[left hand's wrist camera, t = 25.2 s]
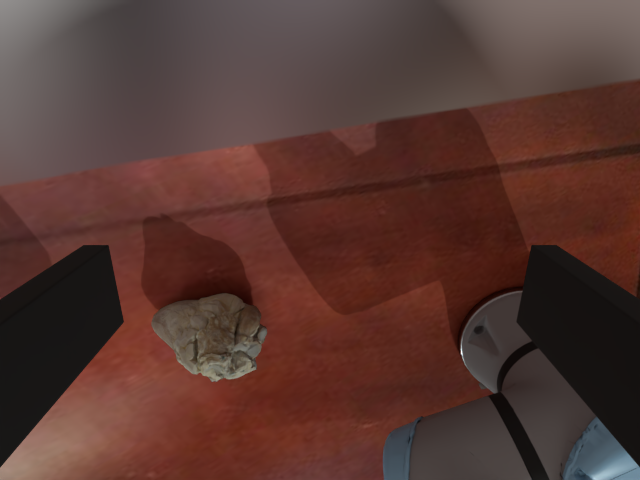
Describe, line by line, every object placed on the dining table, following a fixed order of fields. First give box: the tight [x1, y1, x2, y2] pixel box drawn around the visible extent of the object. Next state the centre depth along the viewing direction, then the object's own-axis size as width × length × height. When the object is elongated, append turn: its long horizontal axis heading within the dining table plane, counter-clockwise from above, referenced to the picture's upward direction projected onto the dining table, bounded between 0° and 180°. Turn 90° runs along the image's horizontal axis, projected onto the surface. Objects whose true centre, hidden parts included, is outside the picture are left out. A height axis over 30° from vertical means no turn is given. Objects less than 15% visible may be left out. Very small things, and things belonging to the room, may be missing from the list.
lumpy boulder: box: [152, 293, 267, 382], centre depth 50 cm, size 11×11×15 cm
